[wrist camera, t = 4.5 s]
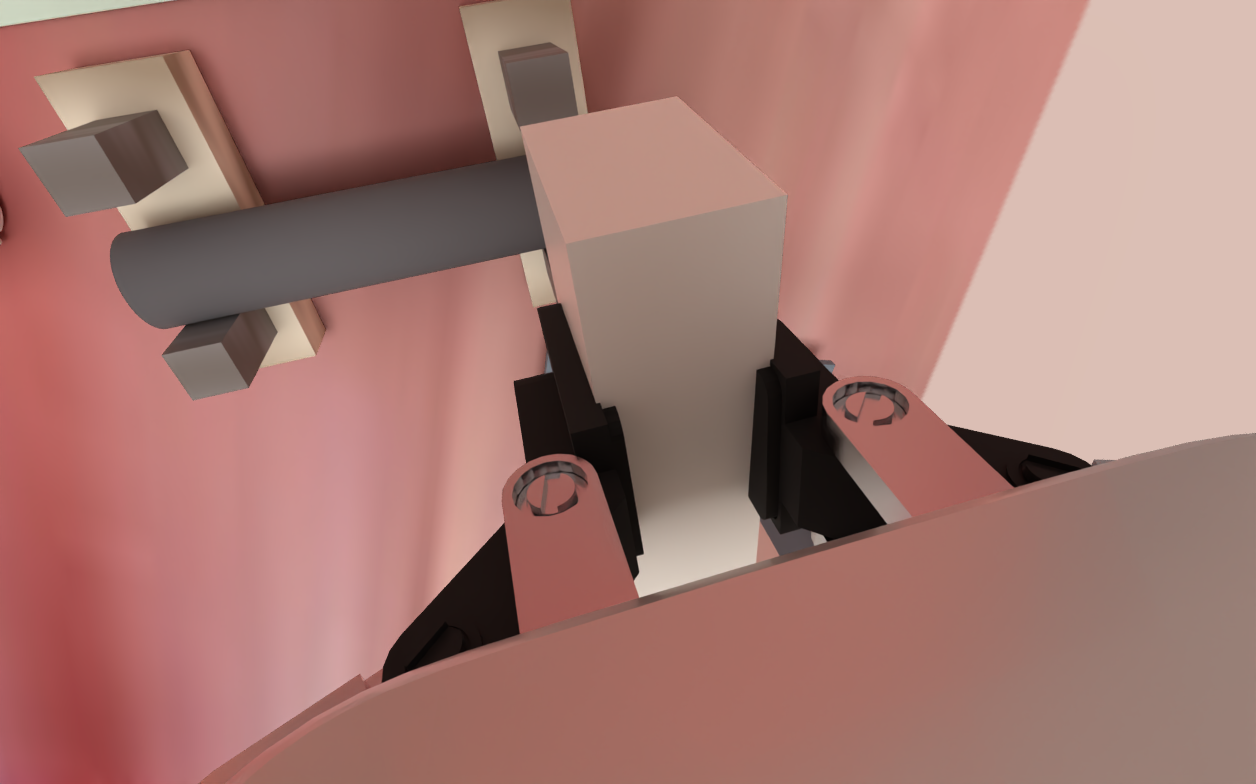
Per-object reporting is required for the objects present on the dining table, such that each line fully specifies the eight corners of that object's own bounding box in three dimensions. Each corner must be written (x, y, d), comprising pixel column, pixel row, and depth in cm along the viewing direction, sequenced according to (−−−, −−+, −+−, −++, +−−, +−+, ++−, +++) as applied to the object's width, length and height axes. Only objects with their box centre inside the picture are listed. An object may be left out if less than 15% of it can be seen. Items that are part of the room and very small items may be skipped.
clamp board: (73, 68, 22) (-63, 97, 16) (559, -10, 24) (591, -10, 18) (240, 348, 29) (187, 437, 23) (604, 269, 31) (637, 332, 25)
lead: (186, 280, 25) (174, 347, 23) (121, 211, 22) (100, 282, 20) (587, 198, 27) (607, 254, 25) (579, 124, 23) (601, 181, 22)
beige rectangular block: (519, 127, 9) (565, 243, 6) (677, 96, 10) (787, 193, 7) (595, 473, 15) (636, 616, 12) (691, 447, 16) (754, 581, 13)
